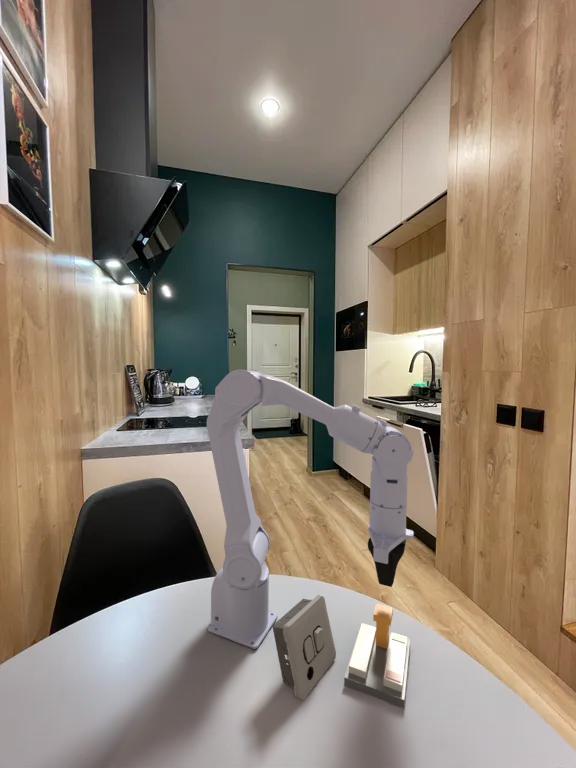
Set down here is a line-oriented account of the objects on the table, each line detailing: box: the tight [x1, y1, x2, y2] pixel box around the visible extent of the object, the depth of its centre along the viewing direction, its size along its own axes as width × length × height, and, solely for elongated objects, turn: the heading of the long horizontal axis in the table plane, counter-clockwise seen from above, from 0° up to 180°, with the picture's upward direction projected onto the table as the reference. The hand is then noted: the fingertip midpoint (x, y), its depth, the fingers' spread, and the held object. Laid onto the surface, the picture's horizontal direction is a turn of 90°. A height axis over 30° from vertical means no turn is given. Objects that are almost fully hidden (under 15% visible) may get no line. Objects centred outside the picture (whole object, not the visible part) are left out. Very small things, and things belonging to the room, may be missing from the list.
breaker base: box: [343, 622, 411, 709], centre depth 51 cm, size 8×11×2 cm
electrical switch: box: [272, 594, 337, 700], centre depth 50 cm, size 9×5×9 cm, turn 141°
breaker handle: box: [372, 603, 394, 649], centre depth 54 cm, size 3×3×5 cm
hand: (385, 583), depth 56 cm, fingers closed
